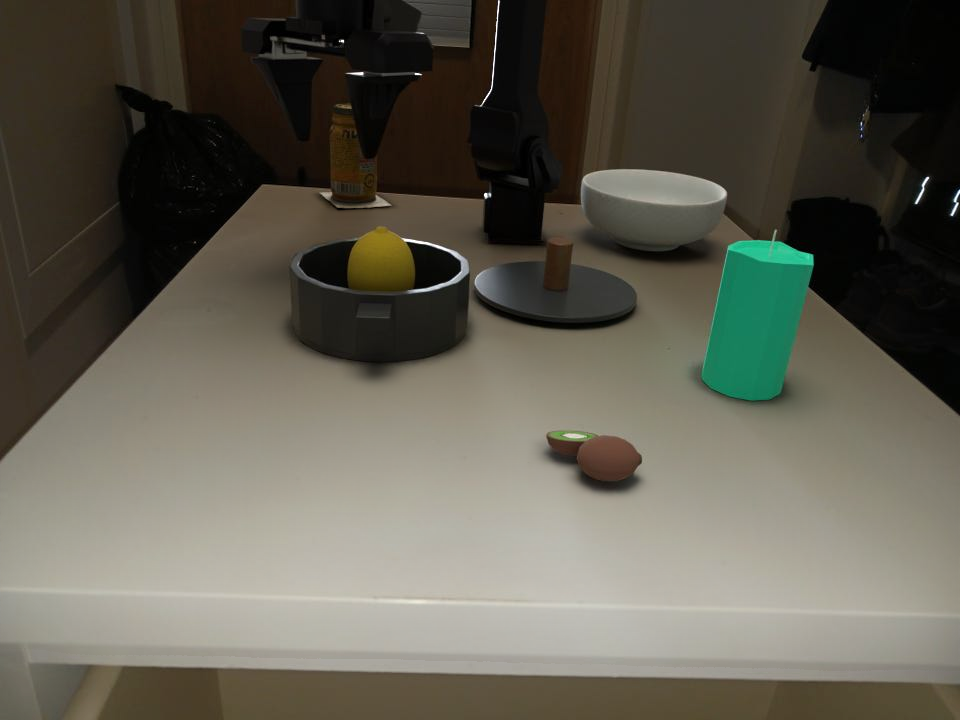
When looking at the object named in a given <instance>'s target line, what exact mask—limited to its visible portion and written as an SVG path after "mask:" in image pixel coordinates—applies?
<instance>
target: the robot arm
mask: <svg viewBox="0 0 960 720" xmlns="http://www.w3.org/2000/svg"><path fill="white" fill-rule="evenodd" d="M294 2H295V16H285V18H275V17H273V18H272V17H271V18H270V17H248V18H247V19H246V21H245V22H244V24H243V25H242V26H241V28H240V41H241V52H242V53H248V54H253V55H258V56H253V57H250V60H251V63H252V64H253V65H256V67H257V68H258V70H259V72H260V73H261V75H262V77H263V79H264V80H265V82H266V84H267V86H268V87H269V89H270V91H271V93H272V94H273V96H274V98H275V100H276V102H277V103H278V105H279V107H280V108H281V111H282V113H283V115H284V117H285V119H286V122H287V123H288V125H289V127H290V129H291V131H292V132H293V135H294V136H295V138H296V141H298V142H299V143H304V142H305V143H306V142H309V141H310V138H311V130H312V129H311V128H312V111H313V109H312V107H313V106H312V104H313V79H314V77H315V75H316V74H317V72H318V71H319V69H320V68H321V66H322V64H323V63H324V58H319V57H313V56H308V54H318V55H319V54H320V55H327V56H334V57H338V58H339V57H340V58H345V59H346V62H347V63H348V65H349V67H350V68H351V70H353V71H354V70H355V71H360V72H344V74H343V75H344V80H345V85H346V90H347V94H348V98H349V104H351V108H352V113H353V118H354V122H355V127H356V132H357V136H358V141H359V144H360V148H361V151H362V154H363V157H364V158H365V159H373V158H375V157H376V155H377V156H378V152H379V149H380V147H381V143H382V140H383V138H384V135H385V132H386V129H387V126H388V122H389V119H390V117H391V114H392V111H393V109H394V107H395V104H396V102H397V100H398V98H399V96H400V95H401V93H403V92H404V90H405V89H406V88H407V87H408V86H410V84H411V83H415V82H420V80H421V78H422V76H423V74H422V73H425V72H428V73H429V72H433V71H434V45H433V43H432V41H431V40H430V38H429V37H428V35H427V34H426V33H425V32H418V30H419V26H420V22H421V19H422V15H423V12H422V11H421V10H420V9H418V8H416V7H415V6H414V5H412V4H409V3H408V2H406V1H405V0H295V1H294ZM547 2H548V0H498V3H497V4H498V5H497V17H496V19H497V21H496V32H495V45H494V56H493V69H492V81H491V89H490V91H489V92H488V94H487V95H486V97H485V99H484V100H483V102H482V104H481V105H478V104H473V105H472V107H471V109H470V113H469V117H470V118H469V119H470V120H469V121H470V126H469V127H470V128H469V135H468V137H467V140H466V142H467V144H470V154H471V158H472V159H473V162H474V167H475V173H476V176H477V180H478V181H482V182H483V181H485V182H489V187H488V189H489V190H488V192H485V193H484V194H483V205H482V206H483V207H482V223H481V227H482V232H483V233H484V234H486V238H487V241H488V242H490V243H504V244H505V243H507V244H531V245H543V244H544V243H545V239H544V237H543V235H542V233H543V223H544V214H545V202H546V194H552V193H553V192H554V191H555V190H558V189H559V187H560V185H561V184H560V183H561V181H562V177H563V174H564V169H563V168H562V166H561V164H560V163H559V161H558V159H557V157H556V156H555V154H554V152H553V150H552V148H551V146H550V144H549V133H550V131H549V130H550V129H549V128H550V127H549V126H550V123H549V118H548V116H547V115H548V114H547V113H546V111H545V108H544V106H543V103H542V101H541V98H540V96H539V81H540V72H541V61H542V51H543V44H544V43H543V42H544V41H543V40H544V33H545V22H546V14H547ZM323 36H324V41H323Z"/></svg>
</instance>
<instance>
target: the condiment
mask: <svg viewBox="0 0 960 720" xmlns="http://www.w3.org/2000/svg"><path fill="white" fill-rule="evenodd" d="M331 119H332V125H331V127H330V129H329V148H330V149H329V156H330V158H329V161H330V191H324V192H320V195H322V197H324V199H326V200H327V201H328V202H330V203H331V204H332V205H333V206H335V207H336V208H342V209H354V208H355V209H363V208H368V209H370V208H375V207H377V208H380V207H381V208H382V207H389V206H390V207H391V206H392V204H390V202H388V201H387V200H385V199H384V198H382V197H380V196H378V194H377V186H378V184H377V183H378V154H377V155H376V157H375V158H373V159H365V158H364V157H363V154H362V151H361V148H360V144H359V141H358V136H357V132H356V127H355V122H354V118H353V113H352V108H351V103H338V104H335V105H333V107H332V118H331Z"/></svg>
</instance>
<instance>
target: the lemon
mask: <svg viewBox="0 0 960 720" xmlns="http://www.w3.org/2000/svg"><path fill="white" fill-rule="evenodd" d="M359 238H360V239H359V240H358V241H357V242H356V243H355V245H354V246H353V248H352V251H351V254H350V257H349V262H348V274H347V277H348V285H349V289H352V290H358V291H384V292H397V291H407V290H413V287H414V282H415V266H414V260H413V256H412V253H411V251H410V248H409V247H408V245H407V243H406V242H405V241H404V240H403V239H404V238H403V239H402V237H401V236H400V235H398V234H396V233H395V232H393V231H390V230H388V228H387V227H386V226H377V227H376V228H375V230H372V231H369V232H367V233H365V234H363V235H362V236H361V237H359Z"/></svg>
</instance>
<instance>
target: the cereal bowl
mask: <svg viewBox="0 0 960 720" xmlns="http://www.w3.org/2000/svg"><path fill="white" fill-rule="evenodd" d="M727 200H728V192H727V190H726V189H725V188H724V187H723V186H721V185H720V184H718V183H715V182H713V181H710V180H708V179H704V178H702V177H698V176H693V175H689V174H688V175H687V174H683V173H678V172H671V171H664V170H663V171H661V170H653V169H652V170H650V169H637V168H636V169H633V168H632V169H629V168H628V169H627V168H621V169H619V168H618V169H605V170H597V171H593V172H590V173H587V174H586V175H584V176H583V178H582V180H581V187H580V203H581V208H582V212H583V214H584V216H585V218H586V220H587V221H588V222H589V224H590V225H591V226H593V228H595V229H596V230H597V231H599V232H600V233H602V234H604V235H607V237H611V238H612V239H613V241H614V242H615V243H617V244H618V245H620V246H623V247H626V248H629V249H633V250H638V251H645V252H667V251H672V250H674V249H678V247H680V246H684V245H687V244H691V243H695V242H697V241H699V240H702V239H704V238H705V237H707V236H708V235H709V234H711V233H712V232H713V231H714V230H715V229H716V228H717V226H718V225H719V223H720V221H721V220H722V218H723V215H724V212H725V209H726V206H727V205H726V204H727Z"/></svg>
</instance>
